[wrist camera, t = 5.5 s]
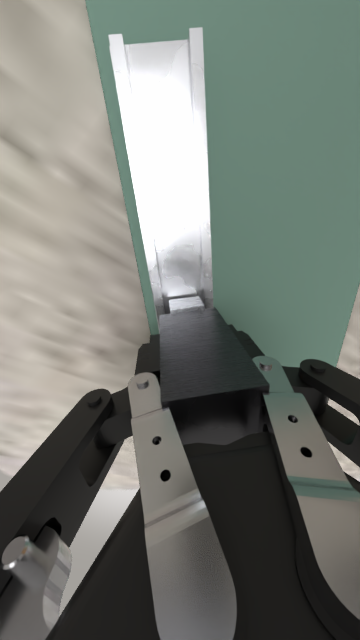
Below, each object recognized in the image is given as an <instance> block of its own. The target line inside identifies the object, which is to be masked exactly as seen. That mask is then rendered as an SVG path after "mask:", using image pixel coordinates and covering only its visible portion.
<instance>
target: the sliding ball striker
mask: <svg viewBox="0 0 360 640" xmlns="http://www.w3.org/2000/svg"><path fill="white" fill-rule="evenodd" d="M169 306H170V313H171V314H164V315H160V395H161V407H162V408H163V407H167V406H168V407H169V409H170V412H171V415H172V418H173V420H174V423H175V426H176V429H177V431H178V434H179V437H180V440H181V443H182V445H185V444H192V443H207V444H217V445H227V444H230V443H232V442H234V441H236V440H238V439H240V438H243V437H245V436H247V435H249V434H254V433H258V422H259V412H260V402H261V392H269V389H270V385H269V383H268V382H267V380H266V379H265V377H264V376H263V375H262V373H261V372H260V370H259V369H258V367H257V366H256V365H255V363H254V362H253V360H252V359H251V357H250V356H249V355H248V353H247V352H246V350H245V349H244V347H243V346H242V345H241V343H240V342H239V340H238V339H237V337H236V336H235V335H234V333H233V332H232V330H231V329H230V327H229V326H228V325H227V323H226V322H225V320H224V319H223V317H222V316H221V315H220V313H219V312H218V310H217V309H216V307H214V308H207V309H205V306H204V304H203V302H202V301H201V299H200V297H199V296H195V297H188V298H181V299H173V300H169Z"/></svg>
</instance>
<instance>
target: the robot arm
mask: <svg viewBox="0 0 360 640" xmlns="http://www.w3.org/2000/svg"><path fill="white" fill-rule="evenodd" d="M228 326H229V327H230V329H231V330H232V332H233V333H234V335H235V336H236V337H237V339H238V340H239V342H240V343H241V345H242V346H243V347H244V349H245V350H246V352H247V353H248V355H249V356H250V357H251V359H252V360H253V362H254V363H255V365H256V366H257V367H258V369H259V370H260V372H261V373H262V375H263V376H264V377H265V379H266V380H267V382H268V383H269V385H270V389H269V392H261V402H260V412H259V422H258V433H254V434H249V435H247V436H245V437H243V438H240V439H238V440H236V441H234V442H232V443H230V444H227V445H217V444H207V443H192V444H185V445H182V443H181V440H180V437H179V434H178V431H177V429H176V426H175V423H174V420H173V418H172V415H171V412H170V409H169V407H168V406H167V407H163V408H162V407H161V395H160V334H156V335H150V343H147V344H143V345H142V346H141V347H140V348H139V351H138V357H137V364H136V370H135V376H134V377H132V378H131V379H130V381H129V382H128V387H126V388H125V389H123V390H121V391H118V392H116V393H113V394H110V392H109V391H108V390H106V389H96V390H93V391H91V392H89V393H87V394H86V395H85V396H83V397H82V398H81V400H80V401H79V402H78V403H77V404H76V405H75V407H74V408H73V409H72V410H71V411H70V412H69V413H68V415H67V416H66V417H65V418H64V419H63V420H62V422H61V423H60V424H59V425H58V426H57V427H56V428H55V430H54V431H53V432H52V433H51V434H50V435H49V437H48V438H47V439H46V440H45V441H44V442H43V443H42V445H41V446H40V447H39V448H38V449H37V450H36V452H35V453H34V454H33V455H32V456H31V457H30V458H29V460H28V461H27V462H26V463H25V464H24V465H23V467H22V468H21V469H20V470H19V471H18V472H17V473H16V475H15V476H14V477H13V478H12V479H11V480H10V481H9V483H8V484H7V485H6V486H5V487H4V488H3V490H2V491H1V492H0V640H360V482H359V481H357V480H356V479H354V478H353V477H351V476H350V475H348V474H347V473H345V472H344V471H343V470H342V468H341V466H340V464H339V462H338V460H337V458H336V457H335V455H334V453H333V451H332V449H331V447H330V445H329V443H331V444H332V445H333V446H334V447H336V448H337V449H338V450H339V451H340V452H342V453H343V454H344V455H345V456H347V457H348V458H349V459H350V460H351V461H353V462H354V463H355V464H356V465H358V466H359V467H360V426H359V425H357V424H356V423H354V422H353V421H351V420H350V419H348V418H347V417H345V416H344V415H343V414H341V413H340V412H338V411H337V410H335V409H334V408H332V407H331V406H329V405H328V400H329V398H330V399H331V400H333V401H335V402H336V403H338V404H339V405H341V406H342V407H344V408H345V409H347V410H349V411H350V412H352V413H353V414H354V415H355V416H356V417H357V418H358V420H359V422H360V379H358V378H356V377H354V376H352V375H350V374H348V373H346V372H344V371H342V370H340V369H338V368H336V367H334V366H332V365H330V364H328V363H326V362H324V361H321V360H317V359H306V360H303V361H302V362H301V363H300V367H286V366H281V364H280V362H279V361H277V360H276V359H274V358H272V357H269V356H265V355H264V353H263V352H262V351H261V350H260V349H259V347H258V346H257V345H256V344H255V342H254V341H253V340H252V339H251V337H250V336H249V335H248V334H247V333H245V332H243V331H237V330H236V329H235V327H234V326H233V325H232V324H230V325H228ZM131 436H133V440H134V447H135V455H136V462H137V469H138V477H139V484H140V488H139V490H138V492H137V493H136V495H135V497H134V498H133V500H132V501H131V503H130V504H129V506H128V508H127V509H126V511H125V513H124V514H123V516H122V517H121V519H120V521H119V522H118V524H117V525H116V527H115V529H114V530H113V532H112V533H111V535H110V537H109V538H108V540H107V541H106V543H105V545H104V546H103V548H102V550H101V551H100V553H99V554H98V556H97V558H96V559H95V561H94V562H93V564H92V566H91V567H90V569H89V571H88V572H87V574H86V575H85V577H84V578H83V580H82V582H81V583H80V585H79V586H78V588H77V590H76V591H75V593H74V594H73V596H72V598H71V599H70V601H69V603H68V604H67V606H66V607H65V609H64V610H63V612H62V614H61V615H60V617H59V611H60V603H61V598H62V595H63V591H64V589H65V586H66V583H67V581H68V578H69V574H70V571H71V565H72V555H71V551H70V549H69V547H70V545H71V543H72V541H73V539H74V537H75V535H76V533H77V531H78V530H79V528H80V526H81V524H82V522H83V520H84V518H85V516H86V514H87V512H88V510H89V508H90V506H91V504H92V502H93V500H94V498H95V497H96V494H97V493H98V491H99V489H100V487H101V485H102V483H103V481H104V479H105V477H106V475H107V473H108V471H109V469H110V467H111V465H112V464H113V462H114V460H115V458H116V456H117V454H118V452H119V450H120V448H121V446H122V444H123V442H124V439H126V438H128V437H131ZM328 442H329V443H328Z"/></svg>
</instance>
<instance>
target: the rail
mask: <svg viewBox="0 0 360 640" xmlns="http://www.w3.org/2000/svg"><path fill="white" fill-rule="evenodd" d="M108 36H109V41H110V46H109V48H110V54H111V60H112V66H113V71H114V77H115V83H116V88H117V94H118V100H119V106H120V111H121V117H122V123H123V128H124V134H125V140H126V146H127V151H128V157H129V163H130V168H131V174H132V180H133V186H134V191H135V197H136V203H137V208H138V214H139V220H140V226H141V231H142V237H143V243H144V249H145V254H146V260H147V266H148V271H149V277H150V283H151V289H152V294H153V300H154V306H155V311H156V317H157V323H158V329H159V334H160V315H164V314H171V313H170V306H169V300H173V299H181V298H188V297H195V296H199V297H200V299H201V301H202V302H203V304H204V306H205V309H207V308H214V306H213V281H212V256H211V230H210V205H209V180H208V154H207V129H206V104H205V79H204V53H203V28H202V27H199V28H189V33H188V39H187V40H175V41H163V42H151V43H139V44H127V45H124V42H123V36H122V34H112V35H108Z"/></svg>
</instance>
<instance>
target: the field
mask: <svg viewBox="0 0 360 640" xmlns="http://www.w3.org/2000/svg"><path fill="white" fill-rule="evenodd" d="M85 1H86V6H87V11H88V17H89V22H90V27H91V32H92V37H93V42H94V47H95V52H96V57H97V62H98V67H99V73H100V78H101V83H102V88H103V93H104V98H105V103H106V108H107V113H108V118H109V124H110V129H111V134H112V139H113V144H114V149H115V154H116V159H117V164H118V169H119V175H120V180H121V185H122V190H123V195H124V200H125V205H126V210H127V215H128V220H129V225H130V231H131V236H132V241H133V246H134V251H135V256H136V261H137V266H138V271H139V276H140V282H141V287H142V292H143V297H144V302H145V307H146V312H147V317H148V322H149V327H150V333H151V335H156V334H159V329H158V323H157V317H156V311H155V306H154V300H153V294H152V289H151V283H150V277H149V271H148V266H147V260H146V254H145V249H144V243H143V237H142V231H141V226H140V220H139V214H138V208H137V203H136V197H135V191H134V186H133V180H132V174H131V168H130V163H129V157H128V151H127V146H126V140H125V134H124V128H123V123H122V117H121V111H120V106H119V100H118V94H117V88H116V83H115V77H114V71H113V66H112V60H111V54H110V48H109V46H110V41H109V36H108V35H112V34H122V36H123V42H124V45H127V44H139V43H151V42H163V41H175V40H187V39H188V33H189V28H199V27H202V28H203V53H204V79H205V104H206V129H207V154H208V180H209V205H210V230H211V256H212V281H213V306H214V307H216V309H217V310H218V312H219V313H220V315H221V316H222V317H223V319H224V320H225V322H226V323H227V325H230V324H232V325H233V326H234V327H235V329H236V330H237V331H243V332H245V333H247V334H248V335H249V336H250V337H251V339H252V340H253V341H254V342H255V344H256V345H257V346H258V347H259V349H260V350H261V351H262V352H263V353H264V355H265V356H269V357H272V358H274V359H276V360H277V361H279V362H280V364H281V366H286V367H300V363H301V362H302V361H303V360H306V359H317V360H321V361H324V362H326V363H328V364H330V365H332V366H334V367H336V365H337V362H338V358H339V355H340V351H341V348H342V344H343V340H344V337H345V333H346V330H347V326H348V323H349V319H350V316H351V312H352V308H353V305H354V301H355V298H356V294H357V291H358V287H359V284H360V0H85Z"/></svg>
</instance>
